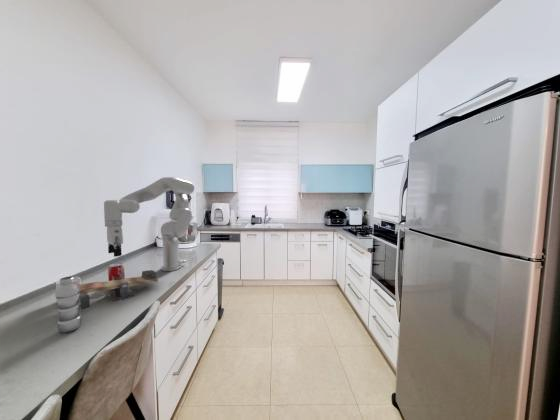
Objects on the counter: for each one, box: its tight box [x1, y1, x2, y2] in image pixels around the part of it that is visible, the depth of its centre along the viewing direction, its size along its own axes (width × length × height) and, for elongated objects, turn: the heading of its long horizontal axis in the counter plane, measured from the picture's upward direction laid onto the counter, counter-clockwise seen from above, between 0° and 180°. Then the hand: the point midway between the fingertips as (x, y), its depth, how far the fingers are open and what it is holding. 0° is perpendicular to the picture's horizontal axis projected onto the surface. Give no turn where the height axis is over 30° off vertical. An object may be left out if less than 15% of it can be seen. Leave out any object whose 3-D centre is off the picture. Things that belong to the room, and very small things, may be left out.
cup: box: [55, 276, 82, 295], centre depth 104 cm, size 8×12×10 cm
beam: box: [77, 269, 159, 294], centre depth 108 cm, size 32×8×4 cm, turn 142°
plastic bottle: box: [54, 275, 83, 334], centre depth 80 cm, size 6×7×20 cm
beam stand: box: [78, 277, 136, 310], centre depth 104 cm, size 20×13×8 cm, turn 142°
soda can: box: [107, 262, 126, 281], centre depth 118 cm, size 7×7×12 cm
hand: (114, 254), depth 117 cm, fingers open, 9 cm apart
